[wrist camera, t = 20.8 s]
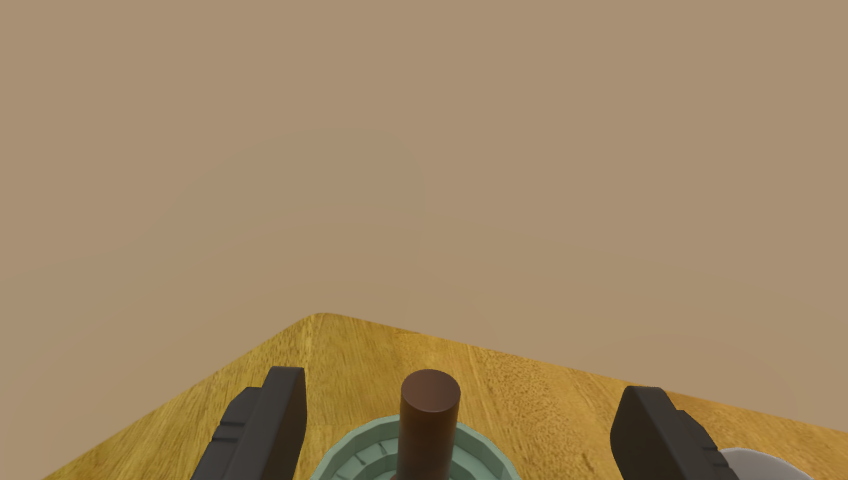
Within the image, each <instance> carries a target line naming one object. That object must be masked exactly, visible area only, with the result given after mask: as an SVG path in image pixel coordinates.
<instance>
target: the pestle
mask: <svg viewBox="0 0 848 480" xmlns="http://www.w3.org/2000/svg"><path fill="white" fill-rule="evenodd" d="M460 395H461V391H460V387H459V385H458V383H457V382H456V380H455V379H454V378H453V377H451V376H450V375H448V374H446V373H444V372H442V371H438V370H433V369H424V370H419V371H416V372H413V373H412V374H410V375H409V376H408V377H406V379H405V380H404V382H403V384H402V388H401V403H400V419H399V435H398V451H397V467H396V474H395V475H393V476H392V477H391V478H390V480H449V476H450V469H451V461H452V454H453V447H454V439H455V432H456V424H457V417H458V410H459V402H460Z"/></svg>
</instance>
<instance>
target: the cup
mask: <svg viewBox="0 0 848 480" xmlns="http://www.w3.org/2000/svg"><path fill="white" fill-rule="evenodd" d="M720 452H721V453H722V455H723V456H724V457H725V459H726V460H727V462H728V463H729V468H732V469H733V470H734V472H735V473H736V475H737V476H738V478H739V479H740V480H814V479H813V478H812V477H810V476H809V475H808V474H806V473H804V472H803V471H801V470H799V469H798V468H796V467H794V466H793V465H792V464H790V463H789V462H787V461H785V460H783V459H781V458H778V457H774V456H772V455H769V454H766V453H763V452H759V451H756V450H753V449H745V448H737V447H736V448H727V449H722V450H720Z"/></svg>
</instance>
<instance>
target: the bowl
mask: <svg viewBox="0 0 848 480" xmlns="http://www.w3.org/2000/svg"><path fill="white" fill-rule="evenodd" d="M399 419H400V414H398V415H393V416H387V417H382V418H377V419H375V420H373V421H371V422H369V423H367V424H364V425H362V426H360V427H358V428H356V429H354V430H352V431H350V432H349V433H348V434H347V435H345V436H344V437H343V438H342V439H341V440H340V441H339V442H337V443H336V444H335V445H334V446H333V447H332V448H331V449H329V450H328V451H327V452H326V454H325V455H324V457H323V459H322V460H321V462H320V463H319V465H318V467H317V468H316V470H315V471H314V473H313V475H312V476H311V478H310V480H390V478H391V477H392V476H393V475H395V474H396V467H397V451H398V435H399ZM449 480H521V478H520V476H519V475H518V473H517V471H516V469H515V467H514V466H513V464H512V462H511V461H510V460H509V459H508V458H507V457H506V456H505V455H504V454H503V453H502V452H501V451H500V450H499V449H498V448H497V447H496V446H495V445H494V444H493V443H492V442H491V440H490V439H488V438H487V437H485V436H483V435H482V434H480V433H478V432H477V431H475V430H473V429H472V428H470V427H468V426H467V425H465V424H463V423H460V422H457V424H456V432H455V439H454V447H453V454H452V461H451V469H450V476H449Z"/></svg>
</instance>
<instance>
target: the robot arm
mask: <svg viewBox="0 0 848 480" xmlns="http://www.w3.org/2000/svg"><path fill="white" fill-rule="evenodd" d="M306 424H307V402H306V385H305V371H304V368H302V367H283V366H272V367H271V369H270V370H269V372H268V375H267V377H266V379H265V381H264V384H263V386H262V388H259V387H246V388H245V389H244V390H243V391H242V392H241V393H240V394H239V395H238V396H237V397H235V398H234V399H233V400H232V401H231V402H230V403H229V405H228V407H227V409H226V411H225V413H224V415H223V417H222V419H221V421H220V425H219V426H218V427H217V429H216V431H215V432H214V434H213V436H212V441H211V442H209V444H208V446H207V448H206V450H205V452H204V454H203V456H202V458H201V460H200V462H199V464H198V466H197V467H196V469H195V471H194V473H193V475H192V477H191V479H190V480H292V479H293V475H294V472H295V468H296V465H297V461H298V458H299V454H300V451H301V448H302V444H303V441H304V437H305V431H306ZM610 444H611V450H612V453H613V456H614V459H615V461H616V463H617V466H618V468H619V470H620V472H621V475H622V477H623V479H624V480H740V479H739V478H738V476H737V475H736V473H735V472H734V470H733V469H732V468H729V463H728V462H727V460H726V459H725V457H724V456H723V455H722V453H721V452H720V451H718V450H717V448H718V447H717V446H716V445H715V443H714V442H713V440H712V439H711V437H710V436H709V434H708V433H707V432H706V430H705V429H704V427H702V426H701V425H700V424H699V423H698V422H697V421H695V420H694V419H693V418H692V417H691V416H690V415H688V414H687V413H686V412H685V411H684V410H676V408H675V407H674V405H673V403H672V402H671V400H670V399H669V397H668V396H667V394H666V393H665V392H664V390H663V389H661V388H659V387H643V386H627V387H626V388H625V390H624V392H623V395H622V398H621V401H620V404H619V407H618V410H617V413H616V416H615V419H614V422H613V425H612V428H611V433H610Z"/></svg>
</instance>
